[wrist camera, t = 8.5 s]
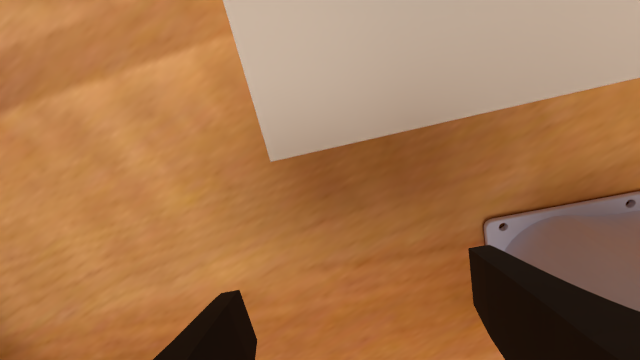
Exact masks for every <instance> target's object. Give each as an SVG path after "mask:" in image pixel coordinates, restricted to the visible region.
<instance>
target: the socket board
mask: <svg viewBox="0 0 640 360" xmlns="http://www.w3.org/2000/svg"><path fill="white" fill-rule="evenodd" d="M223 2H224V6H225V9H226V12H227V16H228V19H229V23H230V26H231V29H232V33H233V36H234V39H235V43H236V46H237V50H238V53H239V56H240V60H241V63H242V67H243V70H244V73H245V77H246V80H247V83H248V87H249V90H250V94H251V97H252V100H253V104H254V107H255V111H256V114H257V117H258V121H259V124H260V127H261V131H262V134H263V138H264V141H265V144H266V148H267V151H268V155H269V158H270V161H271V162H272V161H277V160H281V159H286V158H290V157H294V156H299V155H303V154H307V153H312V152H316V151H321V150H325V149H329V148H334V147H338V146H342V145H347V144H351V143H356V142H360V141H364V140H369V139H373V138H377V137H382V136H386V135H391V134H395V133H399V132H404V131H408V130H412V129H417V128H421V127H426V126H430V125H434V124H439V123H443V122H448V121H452V120H456V119H461V118H465V117H469V116H474V115H478V114H483V113H487V112H491V111H496V110H500V109H504V108H509V107H513V106H518V105H522V104H526V103H531V102H535V101H539V100H544V99H548V98H553V97H557V96H561V95H566V94H570V93H574V92H579V91H583V90H588V89H592V88H596V87H601V86H605V85H609V84H614V83H618V82H623V81H627V80H631V79H636V78H640V0H223Z"/></svg>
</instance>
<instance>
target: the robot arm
mask: <svg viewBox="0 0 640 360" xmlns="http://www.w3.org/2000/svg"><path fill="white" fill-rule="evenodd" d="M628 200H630V201H629V203H628V204H627V205H626V202H627V201H628ZM502 223H505V225H504V226H503V227H502V228H499V225H500V224H502ZM484 235H485V244H486V245H485V246H479V247H474V248H469V259H470V270H471V281H472V292H473V302H474V306H475V308H476V310H477V312H478V314H479V316H480V318H481V320H482V322H483V324H484V326H485V328H486V330H487V332H488V334H489V335H490V337H491V339H492V340H493V342H494V343H495V345H496V346H497V348H498V349H499V351H500V352H501V354H502V355H503V357H504V358H505V360H640V191H638V192H632V193H627V194H622V195H616V196H611V197H606V198H600V199H595V200H590V201H584V202H579V203H573V204H568V205H563V206H557V207H552V208H547V209H541V210H536V211H531V212H525V213H520V214H515V215H509V216H504V217H499V218H493V219H490V220H488V221H486V222H485V224H484ZM256 346H257V338H256V336H255V333H254V330H253V327H252V324H251V322H250V319H249V316H248V313H247V310H246V307H245V305H244V302H243V299H242V296H241V293H240V291H239V290H236V291H231V292H225V293H221V294H220V295H219V296H218V297H216V298H215V299H214V300H213V301H212V302H211V303H210V304H209V305H208V306H207V307H206V308H205V309H204V310H203V311H202V312H201V313H200V314H199V315H198V316H197V317H196V318H195V319H194V320H193V321H192V322H191V323H190V324H189V325H188V326H187V327H186V328H185V329H184V330H183V331H182V332H181V333H180V334H179V335H178V336H177V337H176V338H175V339H174V340H173V341H172V342H171V343H170V344H169V345H168V346H167V347H166V348H165V349H164V350H163V351H162V352H160V353H159V354H158V355H157V356H156V357H155V358H154V359H153V360H255V355H256Z"/></svg>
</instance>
